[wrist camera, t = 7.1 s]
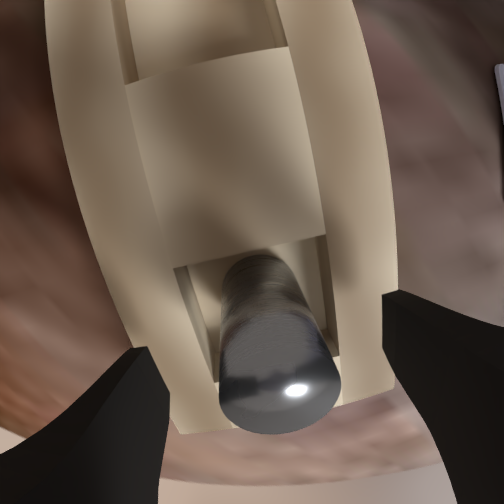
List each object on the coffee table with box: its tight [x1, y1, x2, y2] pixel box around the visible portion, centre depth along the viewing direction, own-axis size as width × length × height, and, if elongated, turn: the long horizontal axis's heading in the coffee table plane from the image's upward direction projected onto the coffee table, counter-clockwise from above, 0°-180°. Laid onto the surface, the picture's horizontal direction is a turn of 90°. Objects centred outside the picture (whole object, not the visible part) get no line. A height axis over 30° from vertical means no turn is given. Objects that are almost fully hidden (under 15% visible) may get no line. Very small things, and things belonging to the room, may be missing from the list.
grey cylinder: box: [219, 254, 341, 434], centre depth 10 cm, size 3×3×6 cm
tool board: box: [44, 0, 398, 434], centre depth 11 cm, size 10×22×3 cm, turn 12°
